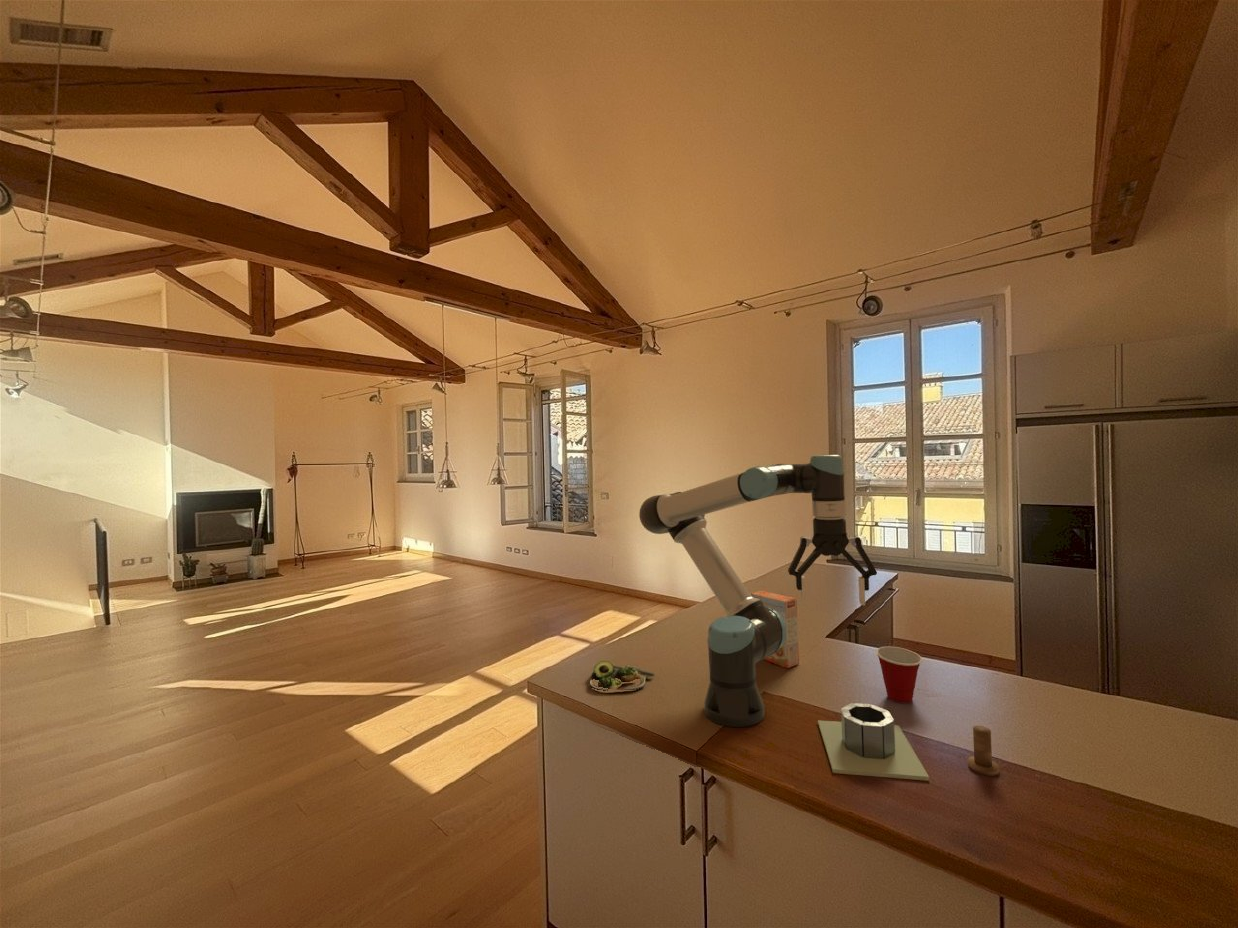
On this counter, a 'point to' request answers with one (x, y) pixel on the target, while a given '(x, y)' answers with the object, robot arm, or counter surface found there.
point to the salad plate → (617, 676)
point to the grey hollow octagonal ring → (868, 730)
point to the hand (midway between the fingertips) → (832, 603)
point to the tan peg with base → (982, 753)
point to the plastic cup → (899, 672)
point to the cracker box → (788, 611)
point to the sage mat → (850, 763)
